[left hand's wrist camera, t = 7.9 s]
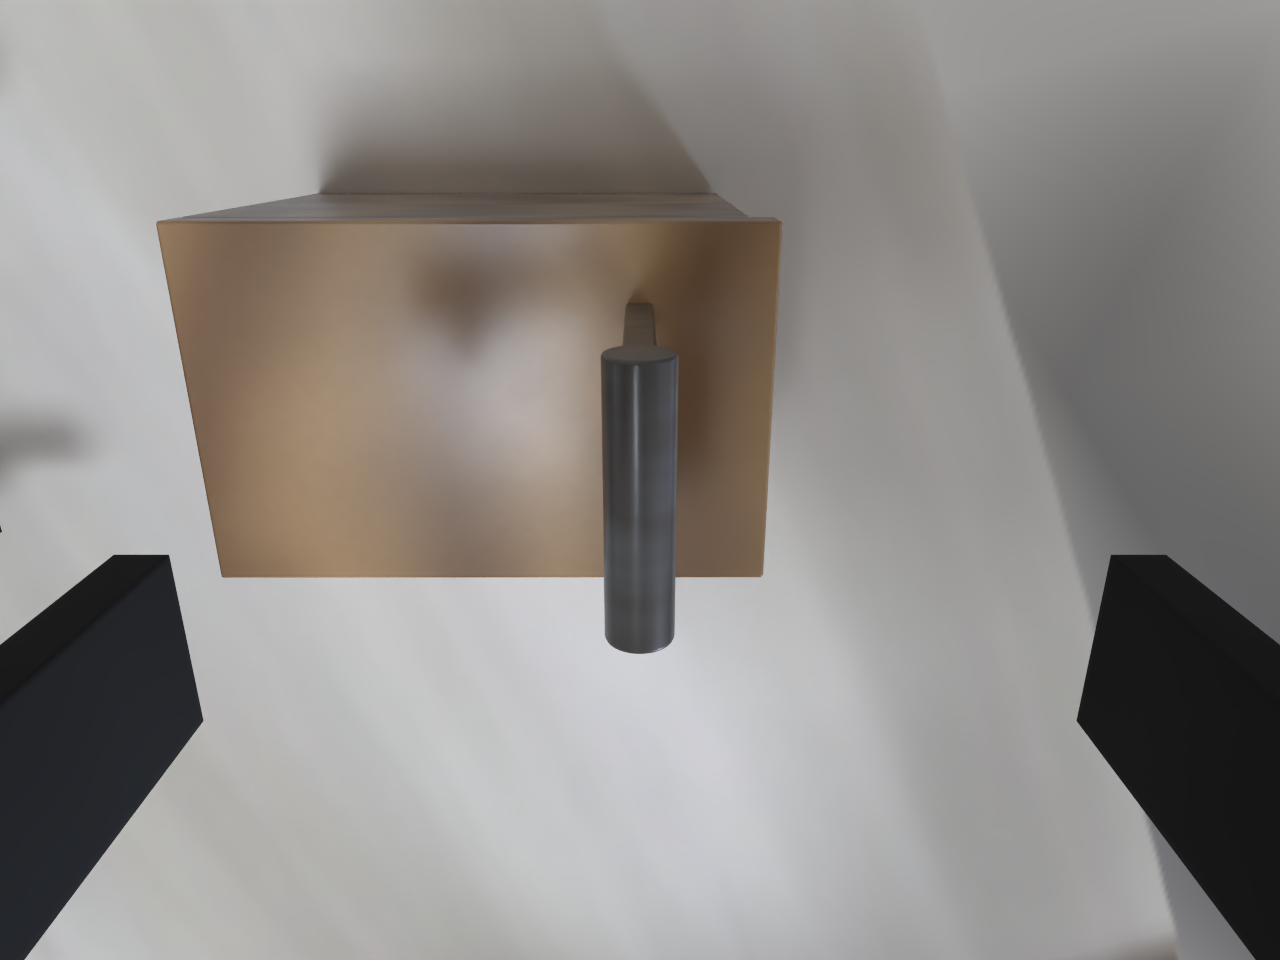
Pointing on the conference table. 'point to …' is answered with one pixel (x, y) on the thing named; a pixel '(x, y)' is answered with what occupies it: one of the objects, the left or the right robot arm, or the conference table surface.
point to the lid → (484, 398)
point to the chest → (489, 206)
